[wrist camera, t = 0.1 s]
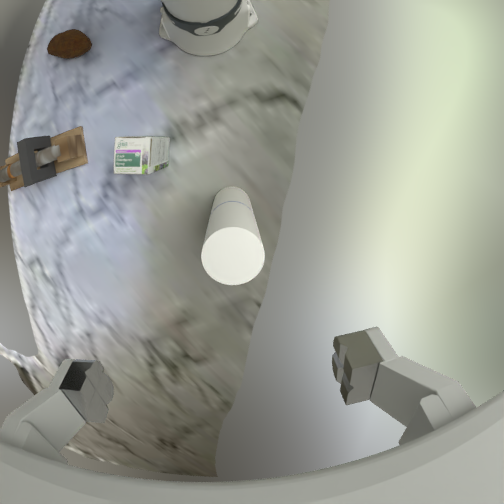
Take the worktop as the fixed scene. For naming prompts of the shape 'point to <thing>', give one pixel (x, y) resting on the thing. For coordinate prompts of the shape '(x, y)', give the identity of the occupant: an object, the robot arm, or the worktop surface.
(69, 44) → the potato
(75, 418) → the robot arm
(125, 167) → the syrup box
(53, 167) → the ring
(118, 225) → the worktop surface
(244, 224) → the cylindrical container
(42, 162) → the pipe rig
